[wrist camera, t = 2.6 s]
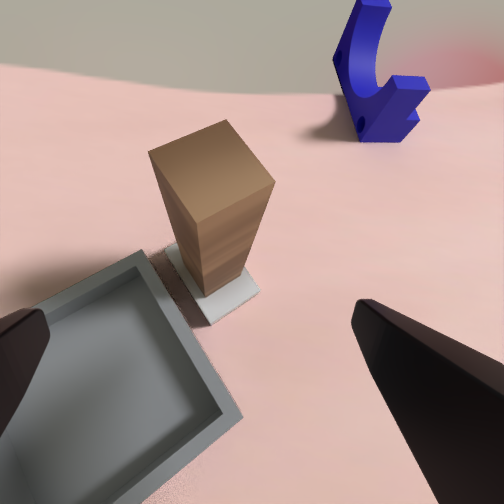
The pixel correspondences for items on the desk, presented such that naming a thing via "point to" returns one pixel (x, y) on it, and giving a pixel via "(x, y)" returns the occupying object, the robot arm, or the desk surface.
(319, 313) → the desk surface
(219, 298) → the wooden post on base
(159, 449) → the tray
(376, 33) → the cable clip
